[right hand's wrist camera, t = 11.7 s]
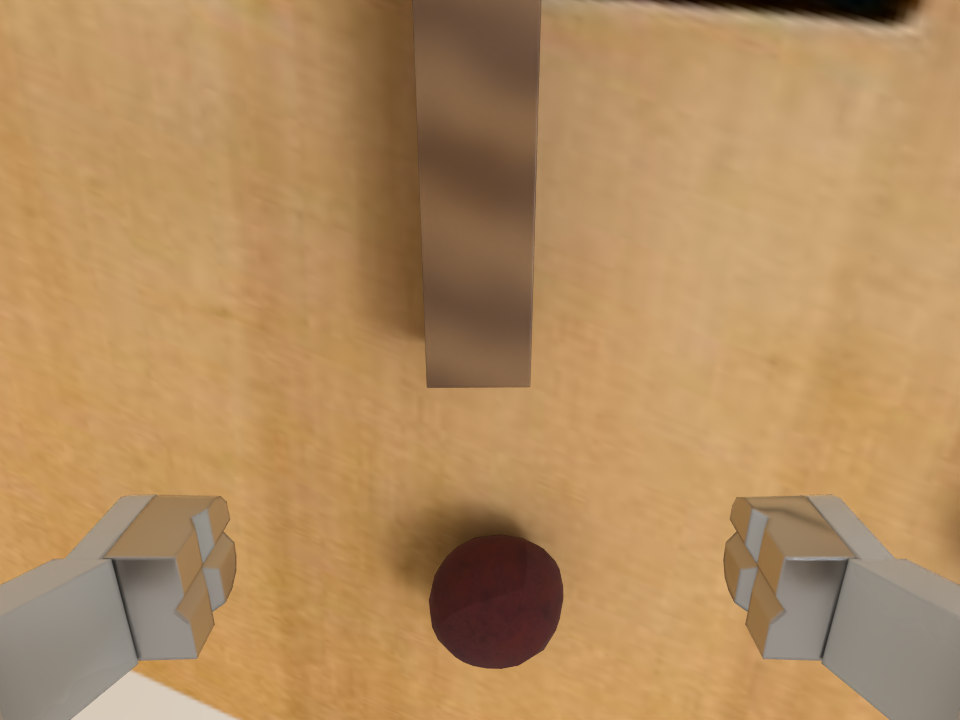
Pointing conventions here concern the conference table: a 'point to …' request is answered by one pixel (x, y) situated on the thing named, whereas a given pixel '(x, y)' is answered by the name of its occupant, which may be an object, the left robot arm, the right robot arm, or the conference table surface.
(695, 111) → the conference table surface
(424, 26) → the beam
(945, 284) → the conference table surface
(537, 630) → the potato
